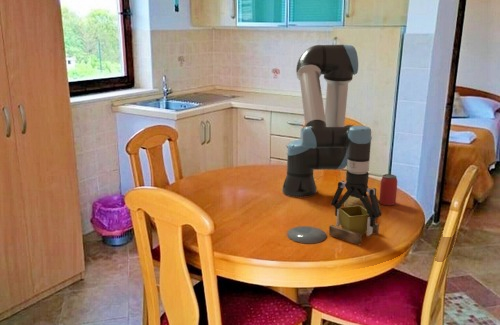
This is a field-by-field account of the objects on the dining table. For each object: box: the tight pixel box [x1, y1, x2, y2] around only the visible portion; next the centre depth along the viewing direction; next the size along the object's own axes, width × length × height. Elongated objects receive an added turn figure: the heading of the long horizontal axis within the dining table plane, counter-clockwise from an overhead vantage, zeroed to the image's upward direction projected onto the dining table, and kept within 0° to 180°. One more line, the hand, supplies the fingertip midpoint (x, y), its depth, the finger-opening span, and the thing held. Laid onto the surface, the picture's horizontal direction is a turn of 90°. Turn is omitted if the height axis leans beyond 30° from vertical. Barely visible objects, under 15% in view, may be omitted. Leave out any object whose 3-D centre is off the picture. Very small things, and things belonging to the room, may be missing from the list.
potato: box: [343, 196, 366, 209], centre depth 195 cm, size 10×14×8 cm
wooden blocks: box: [328, 222, 380, 246], centre depth 176 cm, size 12×14×4 cm
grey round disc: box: [286, 225, 327, 245], centre depth 176 cm, size 14×14×1 cm
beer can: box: [378, 173, 398, 207], centre depth 205 cm, size 7×7×12 cm
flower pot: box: [339, 206, 370, 237], centre depth 175 cm, size 9×9×9 cm
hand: (354, 229), depth 176 cm, fingers closed on flower pot, 12 cm apart
